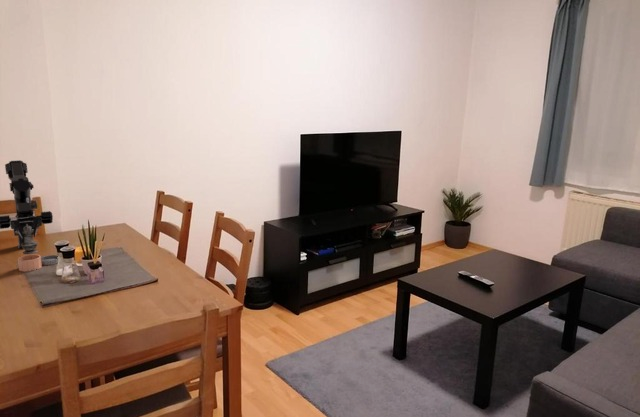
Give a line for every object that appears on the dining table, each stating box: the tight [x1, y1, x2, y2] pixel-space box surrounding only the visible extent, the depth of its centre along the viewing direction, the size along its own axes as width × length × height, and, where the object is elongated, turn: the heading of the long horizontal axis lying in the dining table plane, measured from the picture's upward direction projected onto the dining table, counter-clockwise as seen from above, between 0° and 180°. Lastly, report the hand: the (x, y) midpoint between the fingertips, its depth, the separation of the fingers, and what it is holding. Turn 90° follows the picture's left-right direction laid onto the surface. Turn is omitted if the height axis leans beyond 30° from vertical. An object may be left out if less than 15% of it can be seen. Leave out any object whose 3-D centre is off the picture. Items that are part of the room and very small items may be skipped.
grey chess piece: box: [21, 224, 39, 255], centre depth 185 cm, size 6×6×12 cm
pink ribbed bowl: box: [17, 254, 43, 272], centre depth 187 cm, size 8×8×4 cm
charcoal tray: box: [41, 254, 58, 266], centre depth 195 cm, size 8×8×2 cm
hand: (28, 237), depth 184 cm, fingers closed on grey chess piece, 4 cm apart
